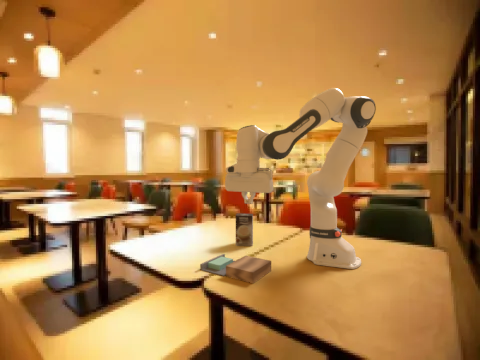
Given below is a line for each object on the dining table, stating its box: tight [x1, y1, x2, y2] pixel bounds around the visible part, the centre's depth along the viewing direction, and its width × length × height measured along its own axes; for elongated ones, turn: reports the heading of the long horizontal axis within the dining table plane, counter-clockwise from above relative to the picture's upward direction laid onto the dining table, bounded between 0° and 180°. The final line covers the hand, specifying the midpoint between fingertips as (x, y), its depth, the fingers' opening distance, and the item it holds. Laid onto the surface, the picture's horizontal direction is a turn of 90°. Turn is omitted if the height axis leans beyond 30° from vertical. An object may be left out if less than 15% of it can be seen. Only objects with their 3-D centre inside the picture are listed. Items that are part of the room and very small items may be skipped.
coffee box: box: [235, 212, 254, 247], centre depth 146 cm, size 9×6×16 cm
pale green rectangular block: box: [208, 256, 234, 270], centre depth 114 cm, size 6×9×2 cm, turn 146°
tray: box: [199, 253, 235, 277], centre depth 114 cm, size 12×15×2 cm
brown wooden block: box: [226, 255, 272, 284], centre depth 107 cm, size 12×14×4 cm
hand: (248, 203), depth 107 cm, fingers closed
